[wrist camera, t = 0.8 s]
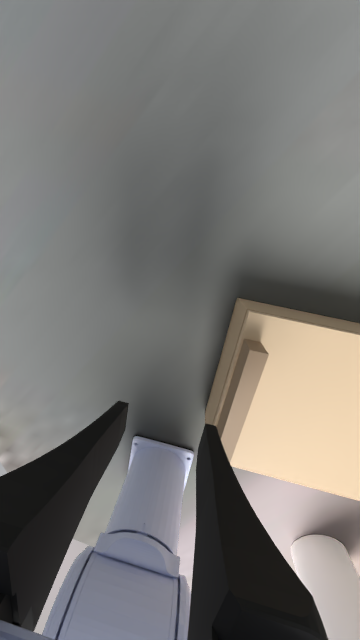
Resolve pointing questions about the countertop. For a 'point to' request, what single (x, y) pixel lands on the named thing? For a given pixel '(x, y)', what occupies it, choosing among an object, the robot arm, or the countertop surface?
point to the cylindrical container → (330, 583)
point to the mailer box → (234, 335)
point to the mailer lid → (294, 404)
